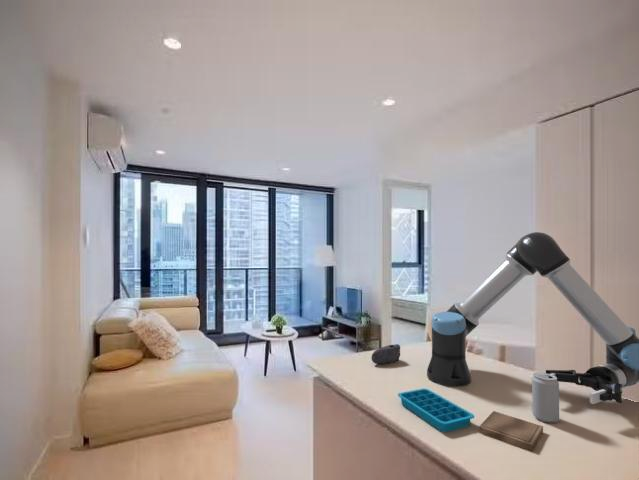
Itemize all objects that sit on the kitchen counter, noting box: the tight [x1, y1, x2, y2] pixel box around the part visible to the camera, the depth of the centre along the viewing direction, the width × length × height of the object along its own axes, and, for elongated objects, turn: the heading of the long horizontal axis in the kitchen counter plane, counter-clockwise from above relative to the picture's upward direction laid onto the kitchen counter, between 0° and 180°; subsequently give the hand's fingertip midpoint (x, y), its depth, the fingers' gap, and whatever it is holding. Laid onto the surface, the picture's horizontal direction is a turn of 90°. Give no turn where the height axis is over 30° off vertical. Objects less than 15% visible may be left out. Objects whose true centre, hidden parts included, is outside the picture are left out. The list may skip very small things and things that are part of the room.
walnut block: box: [478, 410, 544, 452], centre depth 89 cm, size 12×12×2 cm
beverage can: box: [531, 372, 560, 424], centre depth 96 cm, size 6×6×12 cm
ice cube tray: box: [397, 388, 475, 433], centre depth 99 cm, size 12×20×3 cm, turn 23°
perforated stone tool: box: [371, 343, 401, 365], centre depth 143 cm, size 15×5×7 cm, turn 116°
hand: (564, 389), depth 100 cm, fingers open, 13 cm apart
